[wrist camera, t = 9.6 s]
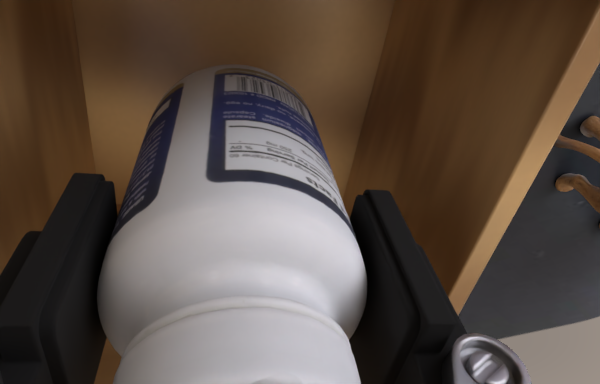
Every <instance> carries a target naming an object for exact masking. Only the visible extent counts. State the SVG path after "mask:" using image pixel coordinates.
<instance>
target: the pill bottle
mask: <svg viewBox="0 0 600 384" xmlns="http://www.w3.org/2000/svg"><path fill="white" fill-rule="evenodd" d="M366 300H367V275H366V269H365V265H364V261H363V258H362V255H361V252H360V249H359V246H358V243H357V240H356V236H355V233H354V231H353V228H352V226H351V223H350V219H349V217H348V214H347V212H346V209H345V207H344V204H343V201H342V198H341V196H340V192H339V189H338V187H337V183H336V181H335V178H334V175H333V172H332V169H331V167H330V164H329V161H328V158H327V155H326V152H325V149H324V147H323V144H322V141H321V138H320V135H319V132H318V129H317V127H316V124H315V121H314V119H313V116H312V114H311V112H310V110H309V108H308V106H307V104H306V103H305V101H304V100H303V99H302V97H301V96H300V95H299V94H298V92H297V91H296V90H295V89H294V88H293V87H291V86H290V85H289V84H288V83H287V82H285V81H284V80H282V79H281V78H279V77H278V76H276V75H274V74H272V73H270V72H268V71H265V70H263V69H259V68H256V67H252V66H247V65H238V64H228V65H217V66H212V67H208V68H204V69H201V70H198V71H196V72H194V73H192V74H190V75H188V76H186V77H185V78H183V79H182V80H180V81H179V82H178V83H176V84H175V85H174V86H173V87H172V88H171V89H170V90H169V91H168V92H167V93H166V94H165V95H164V96H163V98H162V99H161V100H160V102H159V103H158V105H157V107H156V109H155V110H154V112H153V114H152V117H151V119H150V121H149V124H148V127H147V130H146V133H145V136H144V139H143V142H142V145H141V148H140V151H139V154H138V157H137V160H136V163H135V166H134V169H133V172H132V175H131V178H130V181H129V184H128V187H127V190H126V193H125V196H124V199H123V202H122V205H121V208H120V211H119V214H118V217H117V220H116V223H115V226H114V229H113V232H112V235H111V238H110V240H109V243H108V246H107V249H106V252H105V257H104V260H103V263H102V268H101V272H100V276H99V280H98V288H97V307H98V313H99V318H100V322H101V325H102V328H103V330H104V332H105V334H106V336H107V338H108V340H109V342H110V343H111V345H112V346H113V348H114V349H115V350H116V351H117V352H118V354H119V355H120V356H121V361H120V365H119V367H118V369H117V372H116V374H115V376H114V381H113V384H361V381H360V377H359V373H358V369H357V366H356V362H355V358H354V355H353V353H352V351H351V346H350V343H349V339H350V338H351V337H352V335H353V334H354V332H355V330H356V328H357V326H358V324H359V322H360V320H361V317H362V315H363V312H364V309H365V305H366Z"/></svg>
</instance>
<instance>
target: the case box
mask: <svg viewBox="0 0 600 384" xmlns="http://www.w3.org/2000/svg"><path fill="white" fill-rule="evenodd" d="M599 63H600V0H0V275H1V273H2V271H3V270H4V268H5V266H6V265H7V263H8V261H9V259H10V258H11V256H12V254H13V253H14V251H15V249H16V248H17V246H18V244H19V243H20V241H21V239H22V238H23V237H24V235H25V234H26V233H27V232H29V231H42V230H43V228H44V226H45V224H46V223H47V221H48V219H49V217H50V215H51V214H52V212H53V210H54V208H55V206H56V204H57V203H58V201H59V199H60V197H61V195H62V194H63V192H64V190H65V188H66V186H67V184H68V183H69V181H70V179H71V177H72V176H73V174H74V173H89V174H103V175H104V177H105V181H112V182H113V183H114V187H115V197H116V206H117V215H118V214H119V211H120V208H121V205H122V202H123V199H124V196H125V193H126V190H127V187H128V184H129V181H130V178H131V175H132V172H133V169H134V166H135V163H136V160H137V157H138V154H139V151H140V148H141V145H142V142H143V139H144V136H145V133H146V130H147V127H148V124H149V121H150V119H151V117H152V114H153V112H154V110H155V109H156V107H157V105H158V103H159V102H160V100H161V99H162V98H163V96H164V95H165V94H166V93H167V92H168V91H169V90H170V89H171V88H172V87H173V86H174V85H175V84H176V83H178V82H179V81H180V80H182V79H183V78H185V77H186V76H188V75H190V74H192V73H194V72H196V71H198V70H201V69H204V68H208V67H212V66H217V65H228V64H238V65H247V66H252V67H256V68H259V69H263V70H265V71H268V72H270V73H272V74H274V75H276V76H278V77H279V78H281V79H282V80H284V81H285V82H287V83H288V84H289V85H290V86H291V87H293V88H294V89H295V90H296V91H297V92H298V94H299V95H300V96H301V97H302V99H303V100H304V101H305V103H306V104H307V106H308V108H309V110H310V112H311V114H312V116H313V119H314V121H315V124H316V127H317V129H318V132H319V135H320V138H321V141H322V144H323V147H324V149H325V152H326V155H327V158H328V161H329V164H330V167H331V169H332V172H333V175H334V178H335V181H336V183H337V187H338V189H339V192H340V196H341V198H342V201H343V204H344V207H345V209H346V212H347V214H348V217H349V219H350V216H351V212H352V209H353V205H354V202H355V199H356V196H357V195H363V193H364V191H365V190H367V189H370V190H387V191H389V192H390V193H391V194H392V196H393V198H394V200H395V202H396V204H397V206H398V208H399V210H400V212H401V214H402V216H403V218H404V220H405V222H406V224H407V226H408V228H409V230H410V232H411V234H412V236H413V238H414V240H415V242H416V243H417V244H419V245H420V246H421V247H422V248H423V250H424V251H425V253H426V255H427V257H428V259H429V261H430V263H431V265H432V267H433V269H434V271H435V273H436V275H437V276H438V278H439V280H440V282H441V284H442V286H443V288H444V290H445V292H446V294H447V296H448V298H449V300H450V302H451V303H452V305H453V307H454V309H455V311H456V313H457V315H459V313H460V311H461V309H462V307H463V306H464V304H465V302H466V300H467V299H468V297H469V295H470V293H471V291H472V290H473V288H474V286H475V284H476V282H477V281H478V279H479V277H480V275H481V274H482V272H483V270H484V268H485V266H486V265H487V263H488V261H489V259H490V257H491V256H492V254H493V252H494V250H495V249H496V247H497V245H498V243H499V241H500V240H501V238H502V236H503V234H504V232H505V231H506V229H507V227H508V225H509V223H510V222H511V220H512V218H513V216H514V215H515V213H516V211H517V209H518V207H519V206H520V204H521V202H522V200H523V198H524V197H525V195H526V193H527V191H528V190H529V188H530V186H531V184H532V182H533V181H534V179H535V177H536V175H537V173H538V172H539V170H540V168H541V166H542V165H543V163H544V161H545V159H546V157H547V156H548V154H549V152H550V150H551V148H552V147H553V145H554V143H555V141H556V140H557V138H558V136H559V134H560V132H561V131H562V129H563V127H564V125H565V123H566V122H567V120H568V118H569V116H570V115H571V113H572V111H573V109H574V107H575V106H576V104H577V102H578V100H579V98H580V97H581V95H582V93H583V91H584V90H585V88H586V86H587V84H588V82H589V81H590V79H591V77H592V75H593V73H594V72H595V70H596V68H597V66H598V64H599ZM120 361H121V356H120V355H119V354H118V352H117V351H116V350H115V349H114V348H113V346H112V345H111V343H110V342H109V340H108V338H106V342H105V346H104V349H103V353H102V356H101V360H100V364H99V367H98V371H97V374H96V378H95V382H94V384H113V381H114V376H115V374H116V372H117V369H118V367H119V365H120Z"/></svg>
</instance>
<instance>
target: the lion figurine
mask: <svg viewBox="0 0 600 384" xmlns="http://www.w3.org/2000/svg"><path fill="white" fill-rule="evenodd" d="M580 131H581V133H582V134H583V135H585V136H587V137H595V138H597V139H598V140H599V141H600V118H598V117H596V116H590V117H589V118H587V119H586V120H585V121H584V122H583V123H582V124H581V127H580ZM554 146H556V147H560V148H568V149H573V150H576V151H579V152H581V153H584V154H586V155H588V156H589V157H591V158H593V159H594V160H596V161H598V162H599V163H600V149H598V148H596V147H593V146H591V145H588V144H585V143H583V142H580V141H577V140H572V139H569V138H566V137H563V136H561V135H560V134H559V136H558V138H557V140H556V141H555V143H554ZM555 186H556V188H557V189H558V190H559V191H564V192H567V191H570V190H572V189H573V188H574V189H576V190H577V191H578V192H580V193H581V194H582V195H583V196H584V198H585V199H586V200H587V201H588V202H589V203H590V204H591V206H592V207H593V208H594V209H595V210H596V211H597V212H599V213H600V188H599V187H596V186H593V185H592V184H590V183H589V182H588V180H587V179H586V178H585V177H584V176H582V175H579V174H572V173H568V174H564V175H562V176H560V177H559V178H558V179H557V181H556V184H555ZM599 228H600V224H599Z"/></svg>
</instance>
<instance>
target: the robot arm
mask: <svg viewBox="0 0 600 384" xmlns="http://www.w3.org/2000/svg"><path fill="white" fill-rule="evenodd" d="M117 217H118V215H117V206H116V197H115V187H114V183H113V182H112V181H105V177H104V175H103V174H89V173H74V174H73V176H72V177H71V179H70V181H69V183H68V184H67V186H66V188H65V190H64V192H63V194H62V195H61V197H60V199H59V201H58V203H57V204H56V206H55V208H54V210H53V212H52V214H51V215H50V217H49V219H48V221H47V223H46V224H45V226H44V228H43V230H42V231H29V232H27V233H26V234H25V235H24V237H23V238H22V239H21V241H20V243H19V244H18V246H17V248H16V249H15V251H14V253H13V254H12V256H11V258H10V259H9V261H8V263H7V265H6V266H5V268H4V270H3V271H2V273H1V275H0V384H94V382H95V378H96V374H97V371H98V367H99V364H100V360H101V356H102V353H103V349H104V346H105V342H106V338H107V336H106V334H105V332H104V330H103V328H102V325H101V322H100V318H99V313H98V307H97V288H98V280H99V276H100V272H101V268H102V263H103V260H104V257H105V252H106V249H107V246H108V243H109V240H110V238H111V235H112V232H113V229H114V226H115V223H116V220H117ZM350 223H351V226H352V228H353V231H354V233H355V236H356V240H357V243H358V246H359V249H360V252H361V255H362V258H363V261H364V265H365V269H366V275H367V300H366V305H365V309H364V312H363V315H362V317H361V320H360V322H359V324H358V326H357V328H356V330H355V332H354V334H353V335H352V337H351V338H350V339H349V343H350V346H351V351H352V353H353V355H354V358H355V362H356V366H357V369H358V373H359V377H360V381H361V384H532V383H531V380H530V377H529V374H528V371H527V369H526V367H525V365H524V363H523V362H522V361H521V360H520V358H519V357H518V356H517V354H516V353H514V352H513V351H512V350H511V349H510V348H509V347H508V346H507V345H505V344H503V343H502V342H500V341H499V340H497V339H495V338H492V337H490V336H487V335H484V334H477V333H470V334H467V332H466V330H465V329H464V327H463V325H462V323H461V321H460V319H459V317H458V315H457V313H456V311H455V309H454V307H453V305H452V303H451V302H450V300H449V298H448V296H447V294H446V292H445V290H444V288H443V286H442V284H441V282H440V280H439V278H438V276H437V275H436V273H435V271H434V269H433V267H432V265H431V263H430V261H429V259H428V257H427V255H426V253H425V251H424V250H423V248H422V247H421V246H420V245H419V244H417V243H416V242H415V240H414V238H413V236H412V234H411V232H410V230H409V228H408V226H407V224H406V222H405V220H404V218H403V216H402V214H401V212H400V210H399V208H398V206H397V204H396V202H395V200H394V198H393V196H392V194H391V193H390V192H389V191H387V190H370V189H367V190H365V191H364V193H363V195H357V196H356V199H355V202H354V205H353V209H352V212H351V216H350Z"/></svg>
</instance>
